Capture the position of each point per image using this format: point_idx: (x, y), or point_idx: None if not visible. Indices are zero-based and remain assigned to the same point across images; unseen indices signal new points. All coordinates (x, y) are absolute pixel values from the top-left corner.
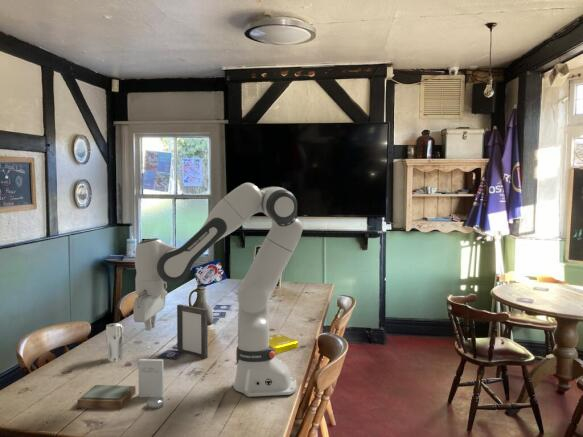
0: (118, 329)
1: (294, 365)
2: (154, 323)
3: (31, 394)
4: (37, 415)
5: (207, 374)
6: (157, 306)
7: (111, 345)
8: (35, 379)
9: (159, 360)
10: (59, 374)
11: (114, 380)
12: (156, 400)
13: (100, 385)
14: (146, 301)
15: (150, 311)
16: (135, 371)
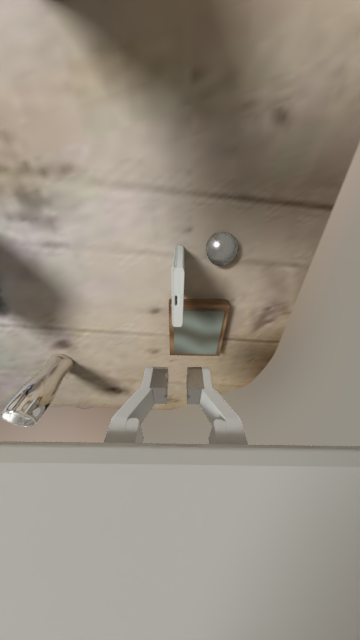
0: (26, 408)
1: None
2: (152, 382)
3: (180, 393)
4: (232, 372)
5: (27, 162)
6: (97, 535)
7: (56, 387)
8: None
9: (181, 277)
10: (125, 393)
11: (127, 341)
12: (222, 247)
13: (175, 349)
14: None
15: (325, 533)
16: (84, 327)
